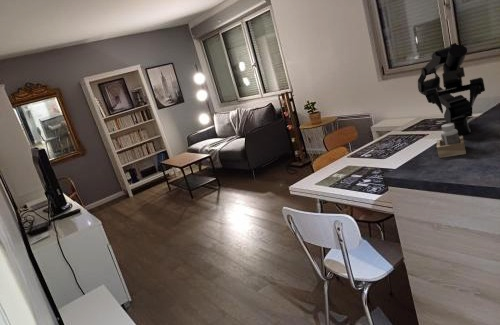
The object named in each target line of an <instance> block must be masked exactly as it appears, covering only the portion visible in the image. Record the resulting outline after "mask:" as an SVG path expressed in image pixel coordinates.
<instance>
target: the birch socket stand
mask: <svg viewBox="0 0 500 325" xmlns="http://www.w3.org/2000/svg"><path fill="white" fill-rule="evenodd" d="M459 140H460V143H456V144H450V145H444V146H443V142H442V139H437V140H436V150H437V155H438V158H439V159H441V158H447V157H454V156H459V155H460V156H461V155H466V154H467V151H466V146H465V142H464V136H463V135H459Z"/></svg>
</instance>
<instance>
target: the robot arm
mask: <svg viewBox="0 0 500 325" xmlns="http://www.w3.org/2000/svg"><path fill="white" fill-rule="evenodd" d="M467 53H468V48H467V47H466V46H464V45H461V44H457V43H456V42H453V43H451V44H450V45H449V46H447V47H444V48H441V49H438V50H435V51H433V53H432V54H431V60H430V61H428V63H426V65H425V66H423V67H422V68H421V71H420V72H421V73H420V76H419V77H418V78H417V91H418V92H419V93H420V94H421V95H423V96H425V98H426V100H427V102H428V103H429V104H433V105H436V106H437V108H438V110H439V111H440V112H441V114H443V118H444V121H445V122H448V123H454V126H455V128H454V129H457V131H458V135H459V136H463V135H468V134H469V135H470V134H471V133H472V131H471V127H469V122H468V118H470V117H473V106H474V103H475V101H476V99H477V97H478V96H479V95H481V94H482V93H483V92H485V91H486V87H485V82H484V78H482V77H481V76H480V77H477V78H473V79H470V80H469V84H463V79H462V78H464V77H465V76H466V75H465V70H464V67H463V66H462V65H463V63H464V61H465V57H466V56H467ZM440 68H442V70H443V71H442V72H443V73H442V74H441V75H442V83H443V84H442V85H443V87H444V88H442V87H441V77H440V75H438V73H437V71H438V70H439V69H440ZM432 74H434V77H432V78H430V79H426V78H427V76H429V75H432ZM425 79H426V80H425ZM466 91H469V100H468V98H467V97H465V96H464V95H462V94H459V95H456V96H454V95H452V94H457V93H461V92H466ZM443 106H444V108H445V111H444V109H443Z"/></svg>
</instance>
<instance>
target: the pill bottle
mask: <svg viewBox="0 0 500 325" xmlns="http://www.w3.org/2000/svg"><path fill="white" fill-rule="evenodd" d="M454 128H455V126H454V123H451V122H448V123H445V124H442V125H441V130H442V131H441V132H440V136H441V140H442V142H443V146H444V145H450V144H456V143H460V140H459V136H460V135H458V131H457V129H454Z"/></svg>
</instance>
